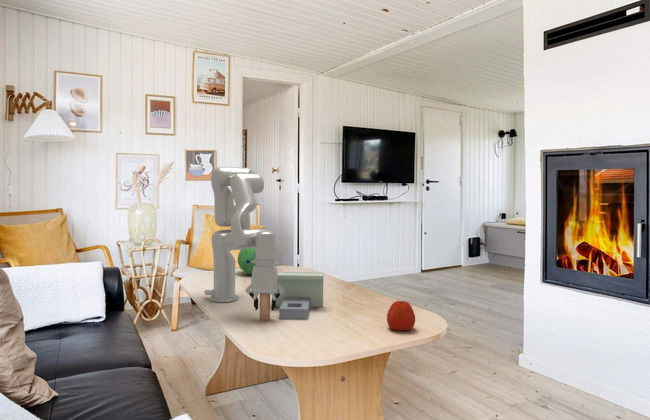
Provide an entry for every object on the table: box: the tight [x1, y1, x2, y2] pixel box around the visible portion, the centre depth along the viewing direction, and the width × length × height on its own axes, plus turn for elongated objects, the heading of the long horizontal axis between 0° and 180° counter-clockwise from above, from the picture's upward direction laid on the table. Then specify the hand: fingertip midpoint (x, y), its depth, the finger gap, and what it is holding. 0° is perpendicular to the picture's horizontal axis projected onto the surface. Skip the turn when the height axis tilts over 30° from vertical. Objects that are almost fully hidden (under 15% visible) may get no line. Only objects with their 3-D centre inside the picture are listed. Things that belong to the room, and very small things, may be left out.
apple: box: [386, 300, 416, 332], centre depth 159 cm, size 10×10×10 cm
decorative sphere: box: [237, 248, 255, 276], centre depth 255 cm, size 19×20×20 cm
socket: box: [278, 297, 311, 320], centre depth 178 cm, size 11×18×4 cm, turn 179°
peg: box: [259, 293, 271, 322], centre depth 169 cm, size 4×4×12 cm
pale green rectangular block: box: [276, 271, 324, 308], centre depth 186 cm, size 22×7×14 cm, turn 89°
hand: (264, 309), depth 169 cm, fingers open, 5 cm apart
